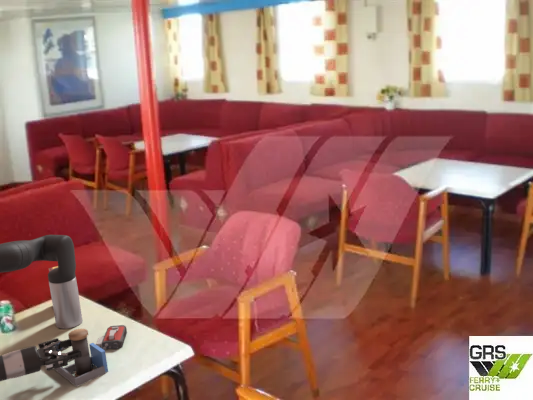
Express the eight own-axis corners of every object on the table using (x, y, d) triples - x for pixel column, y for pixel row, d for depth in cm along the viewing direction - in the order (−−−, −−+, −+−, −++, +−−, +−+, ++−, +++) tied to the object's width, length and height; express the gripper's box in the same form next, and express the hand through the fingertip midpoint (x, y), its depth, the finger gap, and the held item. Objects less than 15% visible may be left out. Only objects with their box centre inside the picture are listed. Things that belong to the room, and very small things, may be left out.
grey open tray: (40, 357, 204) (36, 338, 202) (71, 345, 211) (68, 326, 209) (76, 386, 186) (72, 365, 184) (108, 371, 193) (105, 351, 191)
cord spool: (71, 375, 192) (65, 333, 188) (88, 367, 196) (82, 326, 192) (80, 381, 188) (73, 339, 184) (97, 374, 192) (91, 332, 188)
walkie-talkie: (102, 333, 219) (91, 363, 199) (101, 321, 217) (89, 350, 198) (128, 331, 219) (119, 360, 200) (126, 319, 218) (117, 348, 198)
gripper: (22, 361, 175) (81, 345, 182) (16, 341, 187) (71, 326, 194) (26, 385, 177) (85, 368, 184) (20, 363, 189) (75, 348, 196)
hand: (78, 346), depth 189 cm, fingers open, 8 cm apart
